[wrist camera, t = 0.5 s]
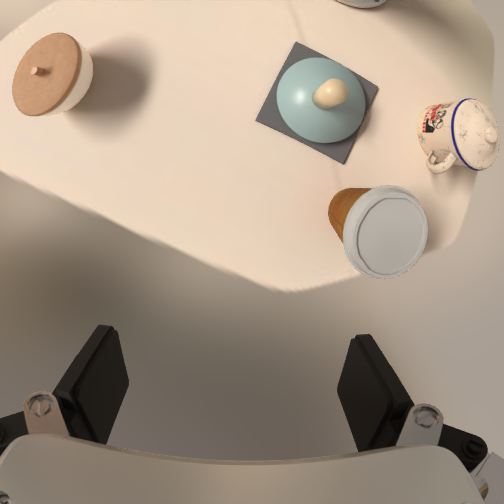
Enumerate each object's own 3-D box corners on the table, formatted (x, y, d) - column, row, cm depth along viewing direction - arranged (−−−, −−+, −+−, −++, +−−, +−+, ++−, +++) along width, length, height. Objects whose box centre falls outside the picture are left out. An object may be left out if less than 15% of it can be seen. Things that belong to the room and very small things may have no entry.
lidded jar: (42, 126, 31) (1, 125, 23) (46, 59, 28) (9, 46, 19) (104, 111, 32) (67, 102, 23) (108, 40, 28) (76, 16, 20)
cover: (297, 46, 30) (308, 28, 24) (373, 87, 32) (395, 78, 26) (261, 118, 33) (265, 111, 27) (341, 158, 35) (359, 160, 29)
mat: (295, 42, 30) (295, 41, 30) (376, 87, 32) (378, 86, 32) (255, 120, 33) (255, 120, 33) (341, 163, 35) (342, 163, 35)
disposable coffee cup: (393, 199, 37) (445, 219, 26) (359, 258, 40) (398, 296, 28) (339, 161, 35) (380, 167, 24) (302, 226, 38) (328, 257, 26)
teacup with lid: (435, 92, 32) (488, 82, 21) (468, 138, 34) (521, 142, 23) (392, 143, 35) (444, 144, 24) (429, 190, 37) (482, 206, 26)
